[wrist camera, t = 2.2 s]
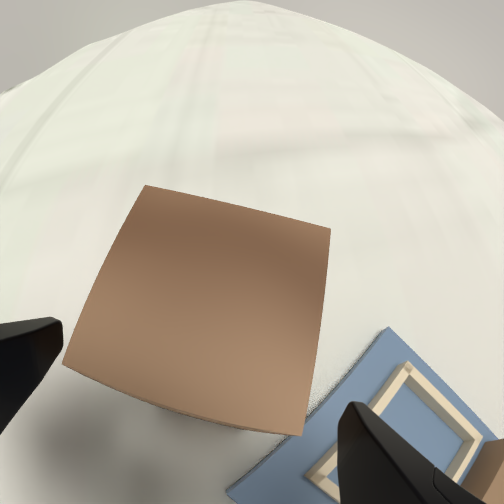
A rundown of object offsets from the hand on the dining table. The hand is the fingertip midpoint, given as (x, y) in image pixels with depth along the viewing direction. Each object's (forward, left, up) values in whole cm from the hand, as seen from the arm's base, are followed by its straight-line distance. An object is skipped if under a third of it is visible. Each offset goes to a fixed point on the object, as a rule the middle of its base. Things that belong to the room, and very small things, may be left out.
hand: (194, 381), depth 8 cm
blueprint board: (+4, -13, -9) cm, 17 cm away
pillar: (+1, +1, -9) cm, 9 cm away
